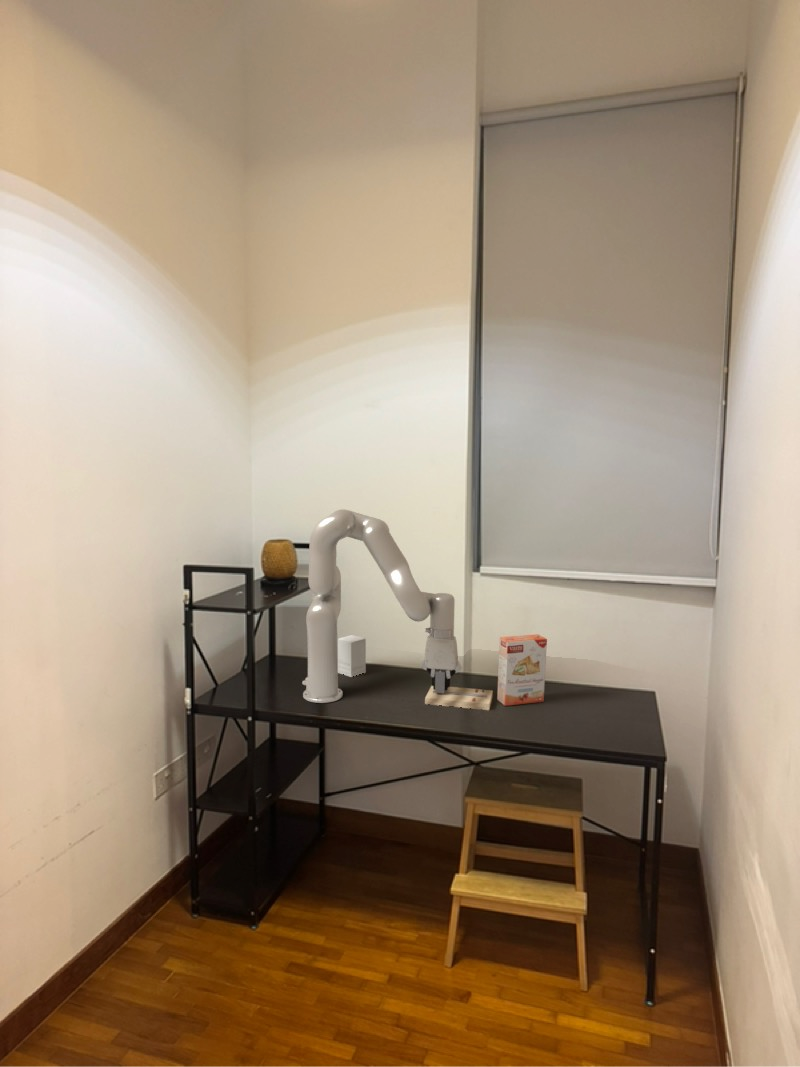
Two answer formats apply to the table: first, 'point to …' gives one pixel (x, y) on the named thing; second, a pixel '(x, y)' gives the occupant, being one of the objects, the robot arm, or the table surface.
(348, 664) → the supplement box
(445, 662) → the robot arm
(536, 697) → the cracker box
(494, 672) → the table surface
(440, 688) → the fader tab
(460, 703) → the board
